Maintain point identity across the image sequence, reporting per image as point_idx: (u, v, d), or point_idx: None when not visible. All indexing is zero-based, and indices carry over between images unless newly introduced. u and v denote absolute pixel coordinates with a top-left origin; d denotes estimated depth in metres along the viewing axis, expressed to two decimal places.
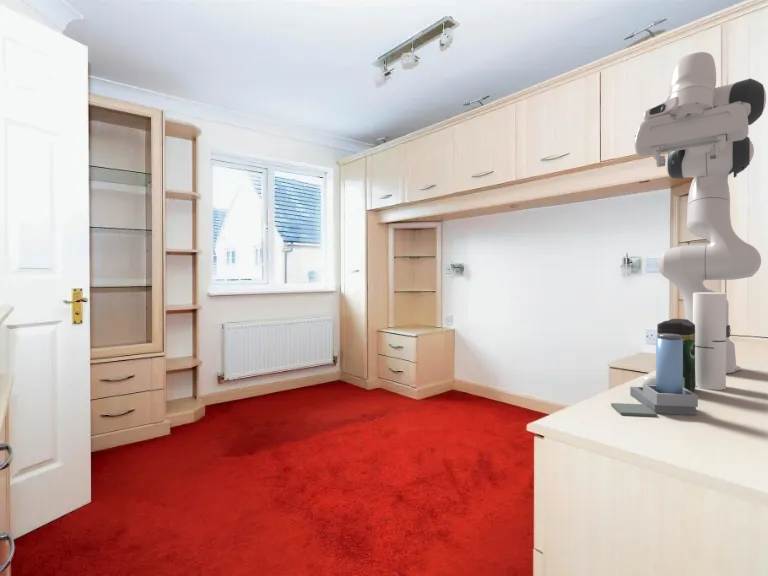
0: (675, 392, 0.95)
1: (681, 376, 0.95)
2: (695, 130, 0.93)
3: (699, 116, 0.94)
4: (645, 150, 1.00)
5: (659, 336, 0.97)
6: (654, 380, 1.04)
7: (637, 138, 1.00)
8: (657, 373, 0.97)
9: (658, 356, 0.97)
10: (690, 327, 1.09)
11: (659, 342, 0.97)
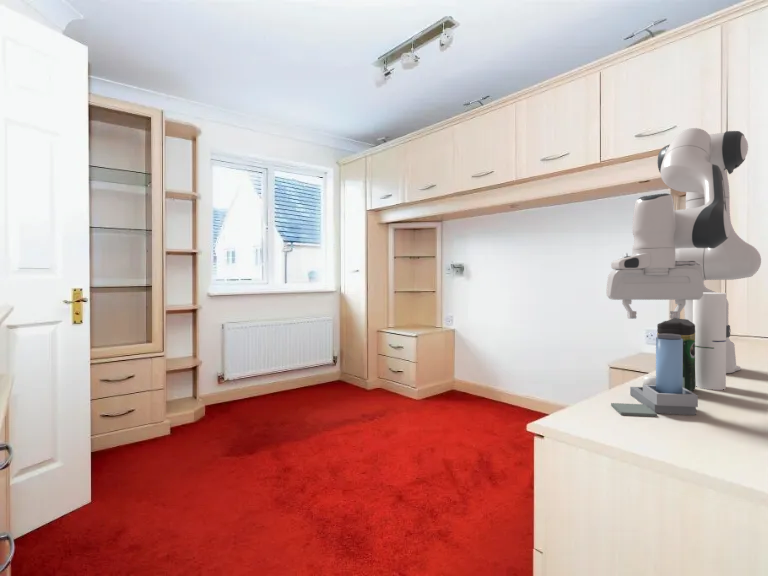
0: (675, 392, 0.95)
1: (681, 376, 0.95)
2: (662, 292, 1.03)
3: (665, 276, 1.03)
4: None
5: (659, 336, 0.97)
6: (654, 380, 1.04)
7: (613, 290, 1.05)
8: (657, 373, 0.97)
9: (658, 356, 0.97)
10: (690, 327, 1.09)
11: (659, 342, 0.97)
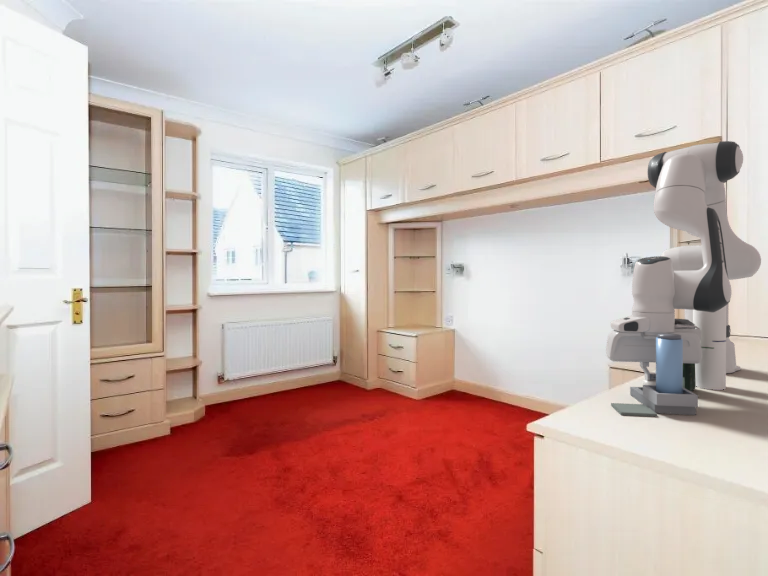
0: (675, 392, 0.95)
1: (681, 376, 0.95)
2: None
3: None
4: None
5: (659, 336, 0.97)
6: (654, 383, 1.04)
7: (613, 352, 1.06)
8: (657, 373, 0.97)
9: (658, 356, 0.97)
10: None
11: (659, 342, 0.97)
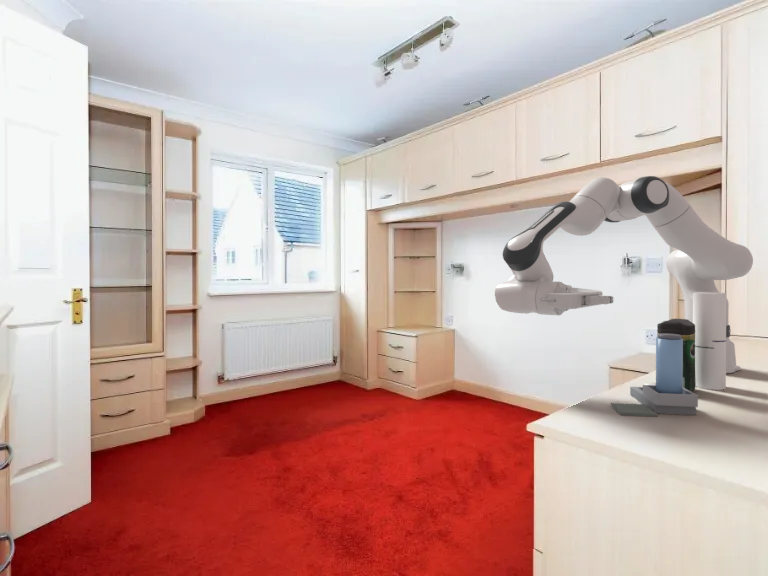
0: (675, 392, 0.95)
1: (681, 376, 0.95)
2: None
3: None
4: None
5: (659, 336, 0.97)
6: None
7: None
8: (657, 373, 0.97)
9: (658, 356, 0.97)
10: (690, 327, 1.09)
11: (659, 342, 0.97)
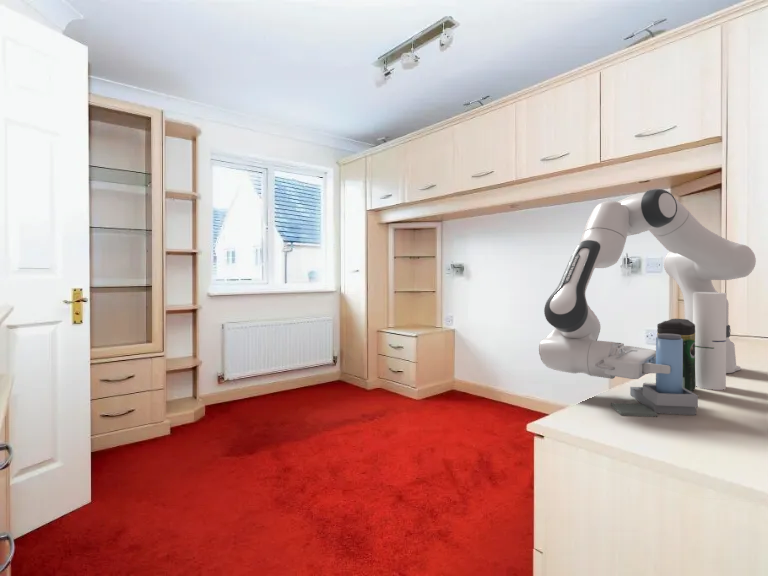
0: (675, 392, 0.95)
1: (681, 376, 0.95)
2: None
3: None
4: None
5: (659, 336, 0.97)
6: None
7: None
8: (657, 373, 0.97)
9: (658, 356, 0.97)
10: (690, 327, 1.09)
11: (659, 342, 0.97)
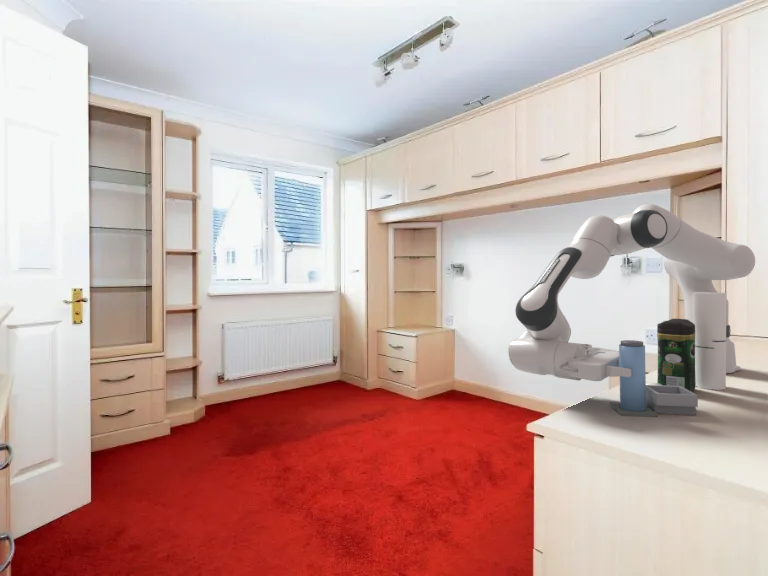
0: (638, 399, 0.95)
1: (644, 383, 0.95)
2: None
3: None
4: None
5: (622, 343, 0.97)
6: None
7: None
8: (620, 380, 0.97)
9: (621, 364, 0.97)
10: (690, 327, 1.09)
11: (622, 349, 0.96)
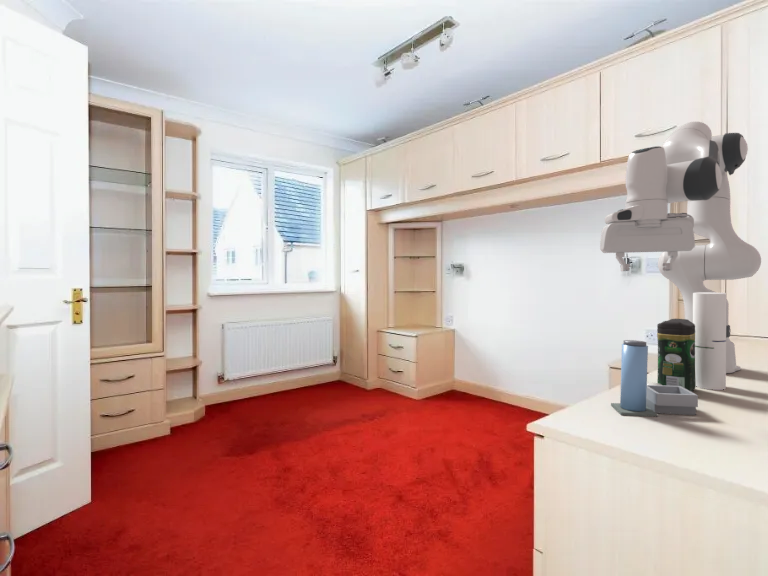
0: (639, 399, 0.95)
1: (645, 383, 0.95)
2: (655, 243, 1.05)
3: (657, 228, 1.05)
4: (611, 252, 1.08)
5: (625, 342, 0.97)
6: None
7: (606, 242, 1.07)
8: (622, 380, 0.97)
9: (623, 363, 0.97)
10: (690, 327, 1.09)
11: (624, 348, 0.96)
